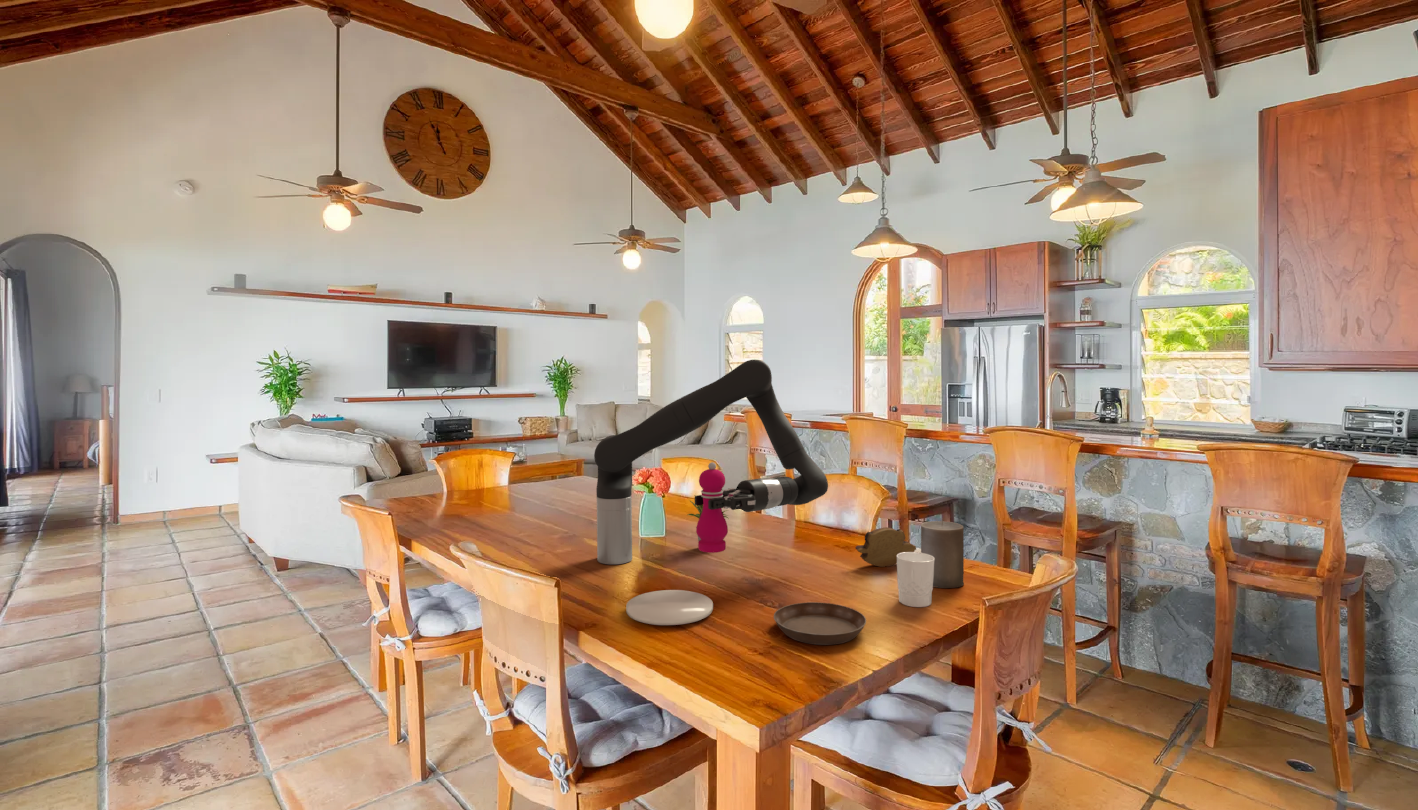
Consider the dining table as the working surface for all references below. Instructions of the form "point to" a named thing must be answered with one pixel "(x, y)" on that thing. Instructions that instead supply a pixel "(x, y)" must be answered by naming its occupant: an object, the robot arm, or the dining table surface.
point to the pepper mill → (711, 512)
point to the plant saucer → (819, 622)
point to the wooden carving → (884, 546)
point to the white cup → (915, 578)
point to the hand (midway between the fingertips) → (702, 502)
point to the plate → (669, 607)
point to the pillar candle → (944, 551)
